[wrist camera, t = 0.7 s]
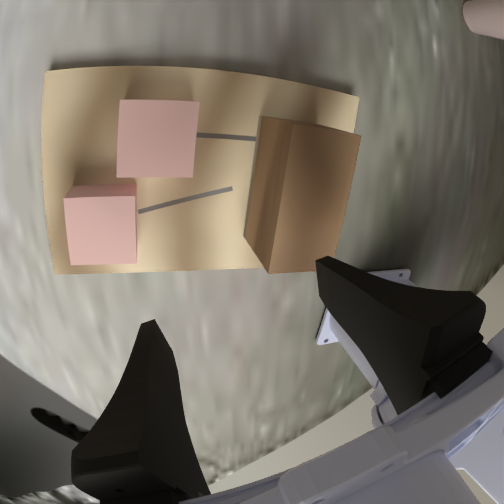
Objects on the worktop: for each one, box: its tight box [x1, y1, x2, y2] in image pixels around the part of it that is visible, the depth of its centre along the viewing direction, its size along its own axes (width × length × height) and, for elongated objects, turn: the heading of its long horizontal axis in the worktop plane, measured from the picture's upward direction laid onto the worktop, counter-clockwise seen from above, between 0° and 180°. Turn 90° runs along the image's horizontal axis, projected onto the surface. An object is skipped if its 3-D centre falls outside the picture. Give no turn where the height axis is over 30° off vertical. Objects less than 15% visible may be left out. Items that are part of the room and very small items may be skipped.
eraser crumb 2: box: [117, 100, 200, 178], centre depth 16 cm, size 4×4×2 cm
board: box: [42, 66, 359, 274], centre depth 19 cm, size 20×13×1 cm, turn 82°
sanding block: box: [243, 115, 361, 274], centre depth 18 cm, size 4×8×5 cm, turn 172°
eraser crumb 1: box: [63, 184, 137, 265], centre depth 17 cm, size 4×4×2 cm
